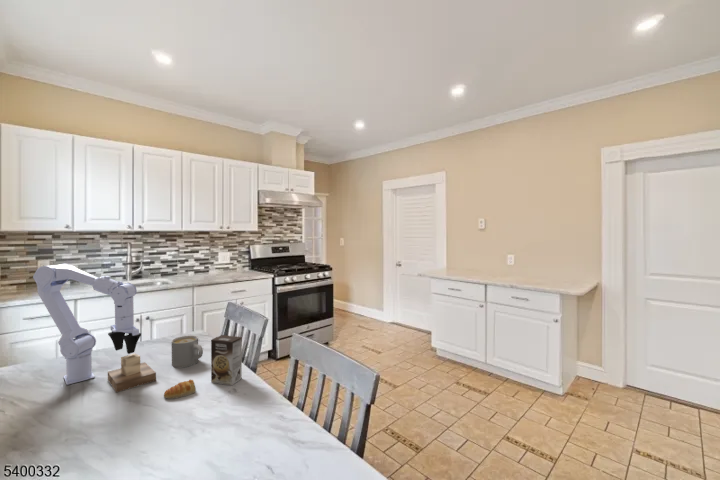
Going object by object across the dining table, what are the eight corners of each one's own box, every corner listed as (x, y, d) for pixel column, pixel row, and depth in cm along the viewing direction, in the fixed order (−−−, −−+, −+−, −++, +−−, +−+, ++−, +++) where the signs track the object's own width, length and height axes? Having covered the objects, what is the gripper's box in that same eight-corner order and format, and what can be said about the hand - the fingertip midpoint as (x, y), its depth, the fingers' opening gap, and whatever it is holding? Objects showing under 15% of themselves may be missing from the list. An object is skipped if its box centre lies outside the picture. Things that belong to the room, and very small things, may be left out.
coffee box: (210, 383, 119) (210, 339, 118) (221, 375, 125) (221, 334, 124) (232, 386, 116) (231, 341, 116) (242, 378, 123) (242, 336, 122)
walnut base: (107, 379, 121) (107, 371, 121) (145, 369, 130) (145, 362, 129) (116, 392, 111) (116, 383, 111) (156, 380, 120) (155, 372, 120)
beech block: (121, 373, 119) (121, 357, 119) (135, 368, 123) (134, 353, 123) (126, 376, 117) (126, 359, 117) (140, 371, 121) (140, 355, 121)
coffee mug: (166, 364, 134) (166, 340, 134) (188, 356, 143) (188, 334, 143) (187, 371, 128) (187, 346, 128) (208, 362, 137) (208, 338, 137)
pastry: (166, 403, 105) (166, 391, 105) (161, 395, 110) (161, 384, 110) (197, 393, 112) (197, 382, 112) (191, 386, 117) (191, 376, 116)
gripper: (101, 316, 122) (101, 351, 122) (124, 320, 116) (125, 358, 116) (121, 311, 128) (122, 345, 129) (144, 316, 122) (145, 351, 122)
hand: (124, 351), depth 123 cm, fingers open, 7 cm apart
